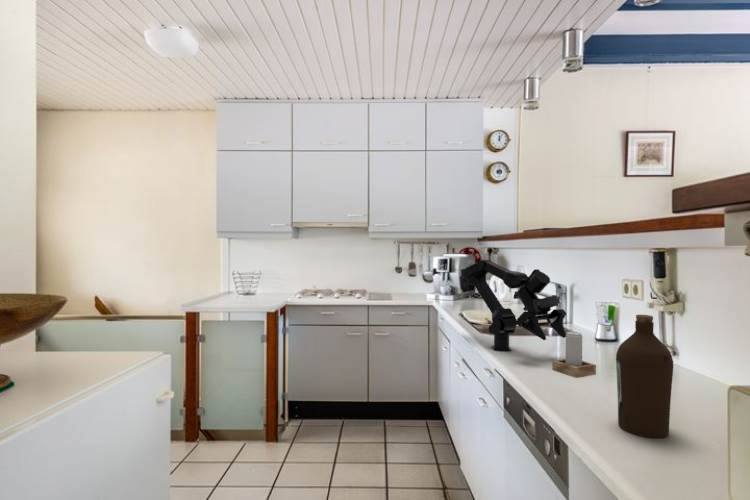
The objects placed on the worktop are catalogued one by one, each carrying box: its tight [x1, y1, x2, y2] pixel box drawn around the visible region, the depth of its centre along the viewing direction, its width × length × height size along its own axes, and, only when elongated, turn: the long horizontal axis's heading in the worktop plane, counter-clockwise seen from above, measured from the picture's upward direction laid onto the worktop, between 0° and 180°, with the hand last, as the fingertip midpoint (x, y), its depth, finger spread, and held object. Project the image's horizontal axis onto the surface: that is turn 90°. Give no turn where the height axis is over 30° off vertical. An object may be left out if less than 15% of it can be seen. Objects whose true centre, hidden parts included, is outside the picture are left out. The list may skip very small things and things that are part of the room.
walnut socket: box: [551, 358, 597, 378], centre depth 136 cm, size 9×9×3 cm
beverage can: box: [565, 331, 583, 367], centre depth 136 cm, size 5×5×12 cm
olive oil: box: [615, 314, 674, 439], centre depth 93 cm, size 11×11×25 cm
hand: (555, 338), depth 142 cm, fingers open, 9 cm apart
